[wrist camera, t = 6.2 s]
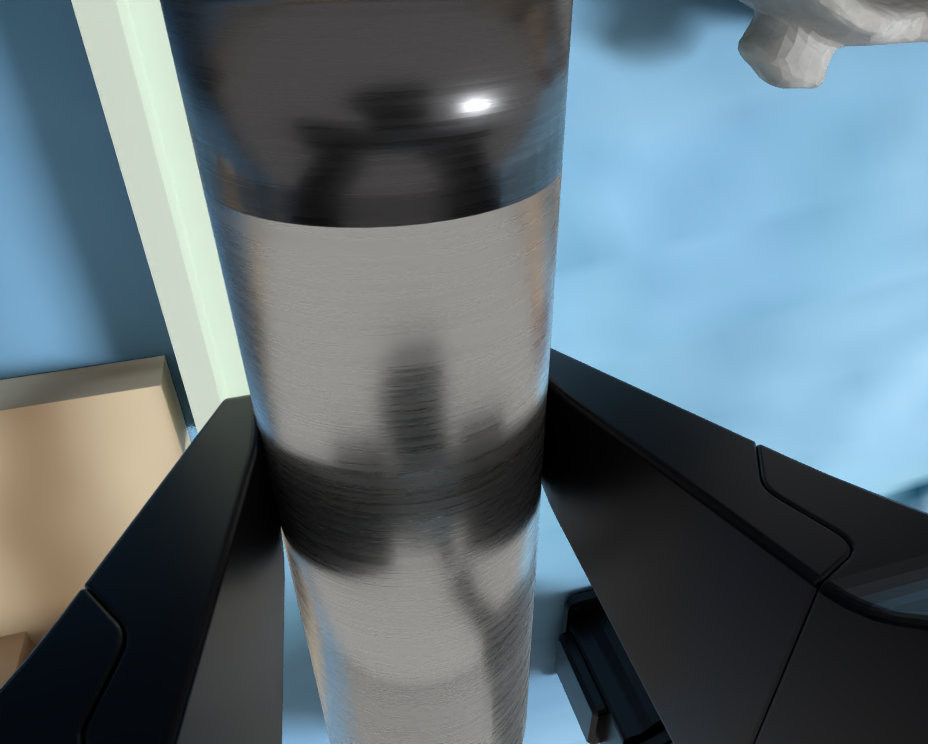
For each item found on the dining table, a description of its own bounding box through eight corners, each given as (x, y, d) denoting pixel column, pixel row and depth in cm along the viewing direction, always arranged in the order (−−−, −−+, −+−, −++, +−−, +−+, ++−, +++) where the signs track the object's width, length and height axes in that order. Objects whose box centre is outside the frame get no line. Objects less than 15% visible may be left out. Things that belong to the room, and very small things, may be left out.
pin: (498, -37, 8) (650, -8, 5) (491, 606, 14) (557, 778, 11) (171, -25, 7) (135, 18, 4) (318, 649, 13) (343, 845, 10)
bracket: (164, 355, 20) (146, 490, 16) (247, 626, 28) (250, 774, 23) (-150, 402, 19) (-278, 570, 14) (25, 678, 26) (-20, 851, 21)
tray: (463, -202, 15) (494, -216, 13) (469, 380, 24) (488, 418, 22) (33, -210, 13) (3, -229, 12) (210, 425, 22) (209, 470, 20)
